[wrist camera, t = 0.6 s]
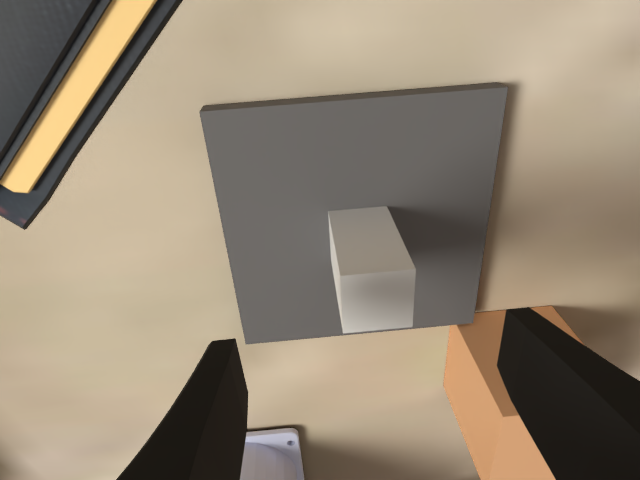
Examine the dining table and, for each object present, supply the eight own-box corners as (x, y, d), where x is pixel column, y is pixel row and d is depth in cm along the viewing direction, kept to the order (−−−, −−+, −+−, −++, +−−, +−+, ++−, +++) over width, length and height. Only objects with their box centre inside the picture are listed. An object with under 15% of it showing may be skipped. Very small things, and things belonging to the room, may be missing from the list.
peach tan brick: (533, 376, 27) (599, 481, 21) (443, 385, 27) (486, 493, 21) (551, 305, 24) (633, 404, 18) (451, 315, 24) (503, 416, 18)
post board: (466, 310, 24) (516, 400, 19) (247, 331, 24) (236, 427, 18) (497, 82, 18) (583, 121, 13) (203, 105, 18) (169, 154, 12)
